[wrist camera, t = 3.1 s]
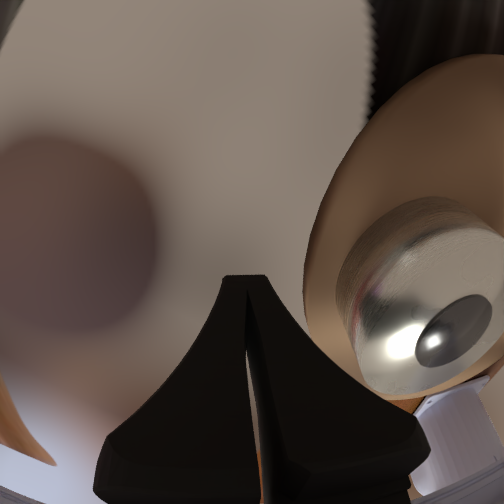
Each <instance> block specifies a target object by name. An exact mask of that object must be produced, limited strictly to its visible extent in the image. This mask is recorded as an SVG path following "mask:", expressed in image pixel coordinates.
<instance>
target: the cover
mask: <svg viewBox="0 0 504 504" xmlns="http://www.w3.org/2000/svg"><path fill="white" fill-rule="evenodd" d="M336 306H337V310H338V313H339V315H340V318H341V320H342V323H343V325H344V328H345V330H346V333H347V336H348V338H349V341H350V343H351V346H352V348H353V351H354V354H355V356H356V359H357V362H358V364H359V367H360V370H361V372H362V375H363V378H364V380H365V381H366V383H367V384H368V385H369V386H370V387H371V388H372V389H374V390H376V391H378V392H381V393H384V394H390V395H404V394H412V393H417V392H420V391H424V390H427V389H430V388H432V387H435V386H437V385H440V384H442V383H444V382H446V381H448V380H450V379H451V378H453V377H455V376H457V375H458V374H460V373H461V372H463V371H464V370H466V369H467V368H468V367H470V366H471V365H472V364H474V363H475V362H476V361H477V360H478V359H480V358H481V357H482V356H483V355H484V354H485V353H486V352H487V351H488V350H489V349H490V348H491V347H492V346H493V345H494V344H495V342H496V341H497V340H498V339H499V337H500V336H501V335H502V334H503V332H504V238H503V237H502V236H501V235H500V234H499V233H497V232H496V231H495V230H494V229H493V228H491V227H490V226H489V225H488V224H486V223H485V222H484V221H483V220H482V219H480V218H479V217H478V216H476V215H475V214H474V213H473V212H471V211H470V210H469V209H467V208H466V207H465V206H463V205H462V204H460V203H459V202H457V201H455V200H452V199H450V198H446V197H440V196H429V197H422V198H418V199H414V200H411V201H408V202H406V203H404V204H401V205H399V206H397V207H395V208H394V209H392V210H390V211H389V212H387V213H386V214H384V215H383V216H382V217H380V218H379V219H378V220H376V221H375V222H374V223H373V224H372V225H371V226H370V227H369V228H368V229H367V230H366V231H365V232H364V233H363V234H362V235H361V236H360V238H359V239H358V240H357V241H356V243H355V244H354V246H353V247H352V248H351V250H350V251H349V253H348V255H347V257H346V259H345V260H344V263H343V265H342V267H341V270H340V272H339V276H338V280H337V284H336Z"/></svg>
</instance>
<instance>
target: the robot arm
mask: <svg viewBox="0 0 504 504" xmlns="http://www.w3.org/2000/svg"><path fill="white" fill-rule="evenodd" d="M246 351H247V357H248V361H249V368H250V373H251V379H252V385H253V391H254V396H255V401H256V408H257V414H258V427H259V440H260V453H261V467H262V481H263V496H264V504H504V446H503V444H502V442H501V440H500V438H499V436H498V434H497V431H496V429H495V427H494V425H493V423H492V421H491V419H490V417H489V415H488V413H487V412H486V409H485V407H484V405H483V404H482V402H481V400H480V398H479V396H478V393H479V392H480V391H481V390H482V388H483V387H484V386H485V385H486V383H487V382H488V381H489V379H490V377H489V376H488V375H486V376H483V377H480V378H477V379H474V380H472V381H469V382H466V383H462V384H459V385H456V386H453V387H450V388H448V389H446V390H443V391H440V392H437V393H433V394H430V395H427V396H426V398H425V399H424V401H423V402H422V403H421V405H420V406H419V407H418V409H417V410H416V411H415V413H414V414H413V415H412V414H410V413H408V412H406V411H404V410H403V409H401V408H399V407H397V406H395V405H393V404H392V403H390V402H388V401H386V400H384V399H383V398H381V397H380V396H378V395H377V394H375V393H374V392H372V391H371V390H369V389H368V388H366V387H365V386H363V385H362V384H361V383H359V382H358V381H357V380H356V379H354V378H353V377H352V376H350V375H349V374H348V373H346V372H345V371H344V370H343V369H341V368H340V367H339V366H338V365H337V364H336V363H335V362H334V361H333V360H331V359H330V358H329V357H328V356H327V355H326V354H325V353H324V352H323V351H322V350H321V349H320V348H319V347H318V346H317V345H316V344H315V343H314V342H313V341H312V340H311V338H310V337H309V336H308V335H307V334H306V333H305V332H304V330H303V329H302V328H301V327H300V326H299V324H298V323H297V322H296V321H295V319H294V318H293V317H292V315H291V314H290V313H289V311H288V310H287V309H286V307H285V306H284V304H283V303H282V301H281V300H280V298H279V297H278V295H277V294H276V292H275V290H274V289H273V287H272V285H271V284H270V282H269V280H268V278H267V277H266V276H265V275H226V276H225V277H224V278H223V279H222V284H221V288H220V291H219V294H218V296H217V299H216V301H215V304H214V306H213V308H212V310H211V312H210V314H209V316H208V319H207V321H206V322H205V324H204V326H203V328H202V329H201V331H200V333H199V335H198V336H197V338H196V340H195V341H194V343H193V345H192V346H191V348H190V350H189V351H188V352H187V354H186V355H185V356H184V358H183V359H182V361H181V362H180V363H179V365H178V366H177V367H176V369H175V370H174V371H173V372H172V373H171V375H170V376H169V377H168V378H167V380H166V381H165V382H164V383H163V384H162V385H161V386H160V388H159V389H158V390H157V391H156V392H155V393H154V394H153V395H152V396H151V397H150V398H149V399H148V400H147V401H146V402H145V403H144V404H143V405H142V406H141V407H140V408H139V409H138V410H137V411H136V412H135V413H134V414H133V415H131V416H130V417H129V418H128V419H127V420H126V421H124V422H123V423H122V424H121V425H120V426H118V427H117V428H116V429H115V430H114V431H113V432H111V433H110V434H109V435H108V436H107V437H106V439H105V442H104V444H103V446H102V449H101V452H100V455H99V458H98V461H97V465H96V471H95V477H94V484H93V492H94V493H95V494H96V495H97V496H98V497H99V498H100V499H101V500H103V501H104V502H106V503H107V504H260V499H261V487H260V477H259V467H258V460H257V453H256V446H255V438H254V431H253V423H252V415H251V406H250V398H249V390H248V378H247V368H246ZM409 474H411V477H412V480H413V483H414V486H415V488H416V489H417V491H418V492H419V493H421V494H422V495H423V496H422V497H420V498H417V499H414V500H412V501H410V498H409V495H408V492H407V489H409V488H410V487H411V483H410V480H409V477H408V475H409ZM0 504H44V503H42V502H39V501H36V500H34V499H31V498H28V497H26V496H23V495H21V494H18V493H16V492H14V491H11V490H9V489H7V488H5V487H2V486H0Z"/></svg>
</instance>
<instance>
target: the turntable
mask: <svg viewBox="0 0 504 504" xmlns="http://www.w3.org/2000/svg"><path fill="white" fill-rule="evenodd" d="M429 196H440V197H446V198H450V199H452V200H455V201H457V202H459V203H460V204H462V205H463V206H465V207H466V208H467V209H469V210H470V211H471V212H473V213H474V214H475V215H476V216H478V217H479V218H480V219H482V220H483V221H484V222H485V223H486V224H488V225H489V226H490V227H491V228H493V229H494V230H495V231H496V232H497V233H499V234H500V235H501V236H502V237H503V238H504V55H497V54H470V55H465V56H461V57H456V58H452V59H449V60H447V61H444V62H442V63H440V64H438V65H436V66H433V67H431V68H429V69H427V70H425V71H424V72H422V73H421V74H420V75H418V76H417V77H415V78H414V79H412V80H411V81H409V82H408V83H407V84H405V85H404V86H402V87H401V88H400V89H399V90H398V91H397V92H396V93H395V94H394V95H393V96H392V97H391V98H390V99H389V100H388V101H387V102H386V103H385V104H383V105H382V106H381V107H380V108H379V109H378V111H377V112H376V113H375V114H374V116H373V117H372V118H371V119H370V121H369V122H368V123H367V124H366V126H365V127H364V128H363V129H362V131H361V132H360V133H359V134H358V136H357V137H356V138H355V140H354V142H353V143H352V145H351V147H350V148H349V150H348V151H347V153H346V155H345V156H344V158H343V160H342V161H341V163H340V164H339V166H338V168H337V169H336V171H335V174H334V176H333V178H332V180H331V182H330V184H329V187H328V189H327V191H326V193H325V195H324V197H323V199H322V202H321V204H320V207H319V210H318V213H317V216H316V220H315V222H314V225H313V228H312V231H311V234H310V238H309V243H308V248H307V253H306V258H305V263H304V275H303V291H302V292H303V302H304V312H305V317H306V321H307V325H308V328H309V331H310V335H311V339H312V341H313V342H314V343H315V344H316V345H317V346H318V347H319V348H320V349H321V350H322V351H323V352H324V353H325V354H326V355H327V356H328V357H329V358H330V359H331V360H333V361H334V362H335V363H336V364H337V365H338V366H339V367H340V368H341V369H343V370H344V371H345V372H346V373H348V374H349V375H350V376H352V377H353V378H354V379H356V380H357V381H358V382H359V383H361V384H362V385H363V386H365V387H366V388H368V389H369V390H371V391H372V392H374V393H375V394H377V395H378V396H380V397H381V398H383V399H384V400H402V399H411V398H417V397H422V396H426V395H430V394H433V393H437V392H440V391H443V390H446V389H448V388H450V387H453V386H455V385H457V384H460V383H462V382H464V381H466V380H468V379H469V378H471V377H473V376H475V375H477V374H478V373H480V372H482V371H483V370H485V369H486V368H488V367H489V366H491V365H492V364H493V363H495V362H496V361H498V360H499V359H500V358H502V357H503V356H504V332H503V334H502V335H501V336H500V337H499V339H498V340H497V341H496V342H495V344H494V345H493V346H492V347H491V348H490V349H489V350H488V351H487V352H486V353H485V354H484V355H483V356H482V357H481V358H480V359H478V360H477V361H476V362H475V363H474V364H472V365H471V366H470V367H468V368H467V369H466V370H464V371H463V372H461V373H460V374H458V375H457V376H455V377H453V378H451V379H450V380H448V381H446V382H444V383H442V384H440V385H437V386H435V387H432V388H430V389H427V390H424V391H420V392H417V393H412V394H404V395H390V394H384V393H381V392H378V391H376V390H374V389H372V388H371V387H370V386H369V385H368V384H367V383H366V381H365V380H364V378H363V375H362V372H361V370H360V367H359V364H358V362H357V359H356V356H355V354H354V351H353V348H352V346H351V343H350V341H349V338H348V336H347V333H346V330H345V328H344V325H343V323H342V320H341V318H340V315H339V313H338V310H337V306H336V284H337V280H338V276H339V272H340V270H341V267H342V265H343V263H344V260H345V259H346V257H347V255H348V253H349V251H350V250H351V248H352V247H353V246H354V244H355V243H356V241H357V240H358V239H359V238H360V236H361V235H362V234H363V233H364V232H365V231H366V230H367V229H368V228H369V227H370V226H371V225H372V224H373V223H374V222H375V221H376V220H378V219H379V218H380V217H382V216H383V215H384V214H386V213H387V212H389V211H390V210H392V209H394V208H395V207H397V206H399V205H401V204H404V203H406V202H408V201H411V200H414V199H418V198H422V197H429Z"/></svg>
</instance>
